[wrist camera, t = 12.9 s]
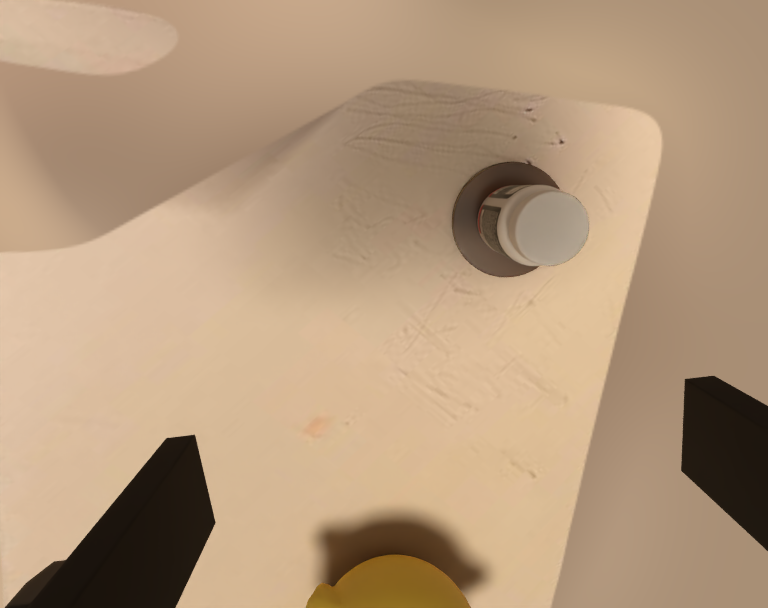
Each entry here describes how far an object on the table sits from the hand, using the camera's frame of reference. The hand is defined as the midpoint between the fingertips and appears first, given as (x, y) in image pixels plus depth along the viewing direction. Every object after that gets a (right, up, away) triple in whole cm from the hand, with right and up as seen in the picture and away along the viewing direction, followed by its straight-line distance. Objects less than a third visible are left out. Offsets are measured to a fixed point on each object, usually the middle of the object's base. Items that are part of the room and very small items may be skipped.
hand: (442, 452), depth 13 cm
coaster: (+7, +10, +21) cm, 25 cm away
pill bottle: (+7, +10, +21) cm, 24 cm away
